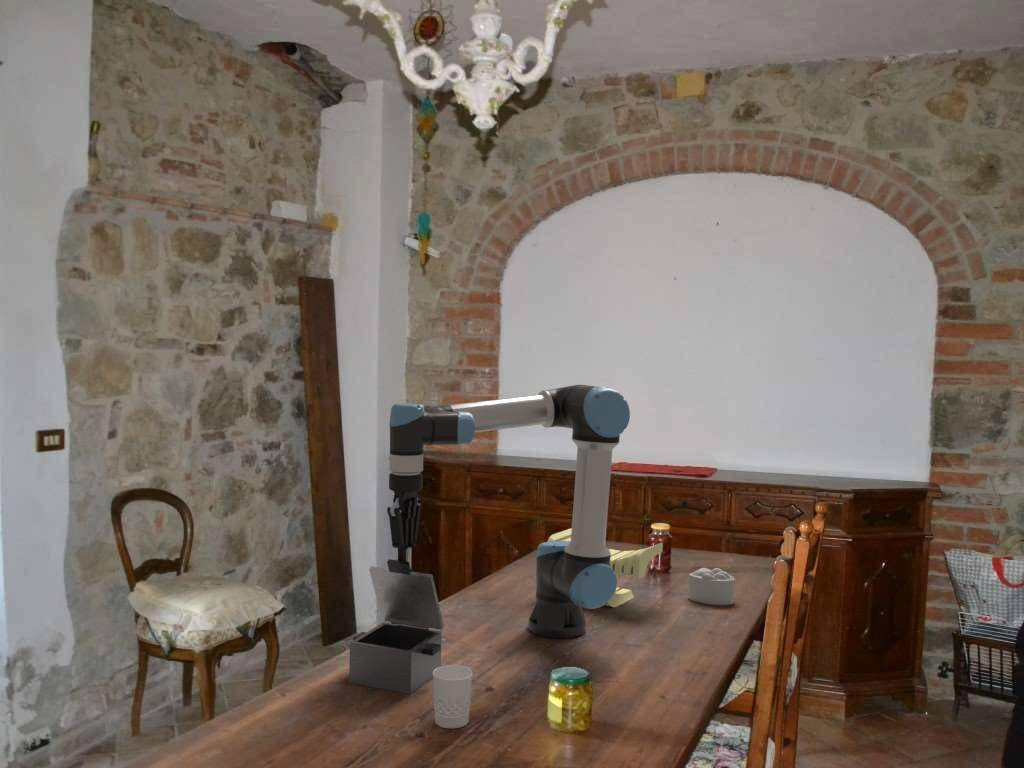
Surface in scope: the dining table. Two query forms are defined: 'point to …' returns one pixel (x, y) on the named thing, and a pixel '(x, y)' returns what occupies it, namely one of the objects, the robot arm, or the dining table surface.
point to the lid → (406, 596)
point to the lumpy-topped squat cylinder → (711, 587)
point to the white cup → (452, 695)
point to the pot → (394, 657)
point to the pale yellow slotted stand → (621, 564)
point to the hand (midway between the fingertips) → (404, 576)
